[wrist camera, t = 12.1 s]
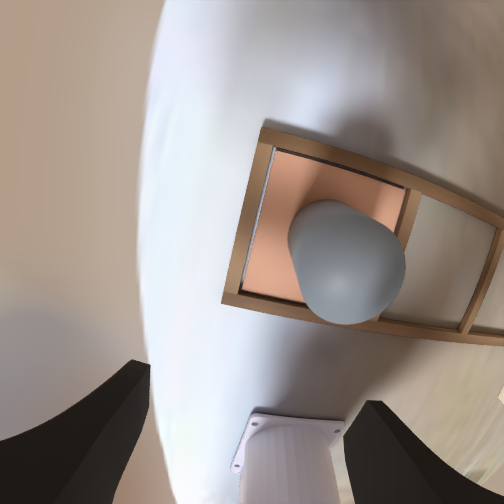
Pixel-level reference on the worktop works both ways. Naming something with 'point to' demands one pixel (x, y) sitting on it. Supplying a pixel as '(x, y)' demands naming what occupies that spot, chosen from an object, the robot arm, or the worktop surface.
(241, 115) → the worktop surface
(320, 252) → the grey rounded cylinder
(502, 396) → the die
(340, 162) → the board
